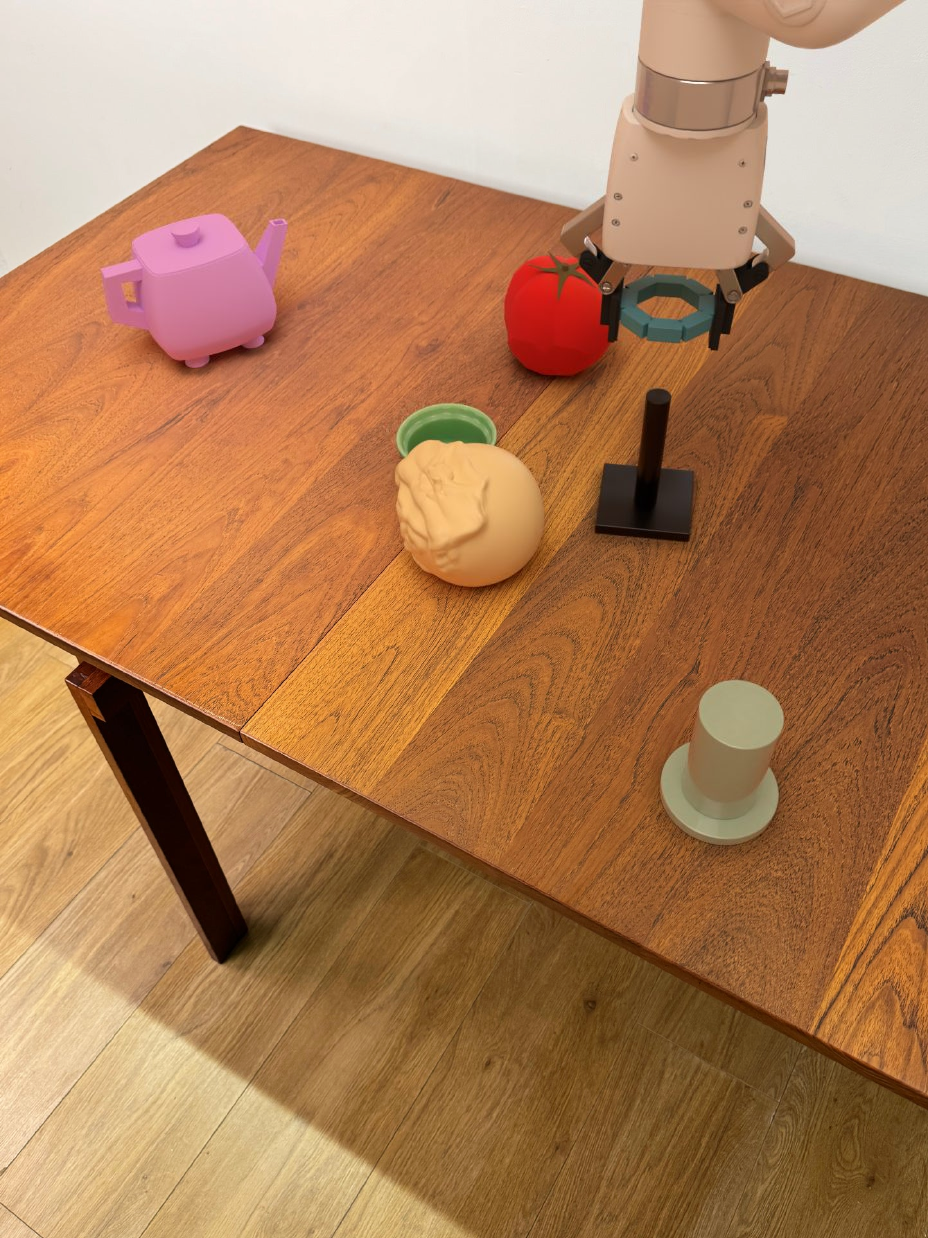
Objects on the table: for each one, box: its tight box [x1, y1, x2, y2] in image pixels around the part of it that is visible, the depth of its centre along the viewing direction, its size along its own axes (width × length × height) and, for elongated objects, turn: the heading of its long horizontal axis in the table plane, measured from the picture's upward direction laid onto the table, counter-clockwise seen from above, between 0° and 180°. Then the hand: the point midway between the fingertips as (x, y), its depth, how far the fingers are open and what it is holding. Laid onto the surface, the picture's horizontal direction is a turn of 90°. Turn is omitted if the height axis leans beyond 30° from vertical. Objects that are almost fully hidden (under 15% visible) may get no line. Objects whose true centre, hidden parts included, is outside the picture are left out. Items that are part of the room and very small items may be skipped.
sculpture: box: [394, 440, 545, 588], centre depth 81 cm, size 11×12×11 cm
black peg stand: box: [594, 387, 695, 543], centre depth 83 cm, size 8×8×12 cm
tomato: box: [503, 250, 612, 376], centre depth 97 cm, size 12×12×11 cm
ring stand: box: [659, 679, 785, 846], centre depth 66 cm, size 8×8×10 cm
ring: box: [619, 273, 715, 344], centre depth 73 cm, size 7×7×1 cm
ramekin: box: [395, 402, 498, 460], centre depth 90 cm, size 9×9×4 cm
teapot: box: [100, 213, 289, 369], centre depth 102 cm, size 20×12×13 cm, turn 119°
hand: (663, 333), depth 74 cm, fingers closed on ring, 6 cm apart
